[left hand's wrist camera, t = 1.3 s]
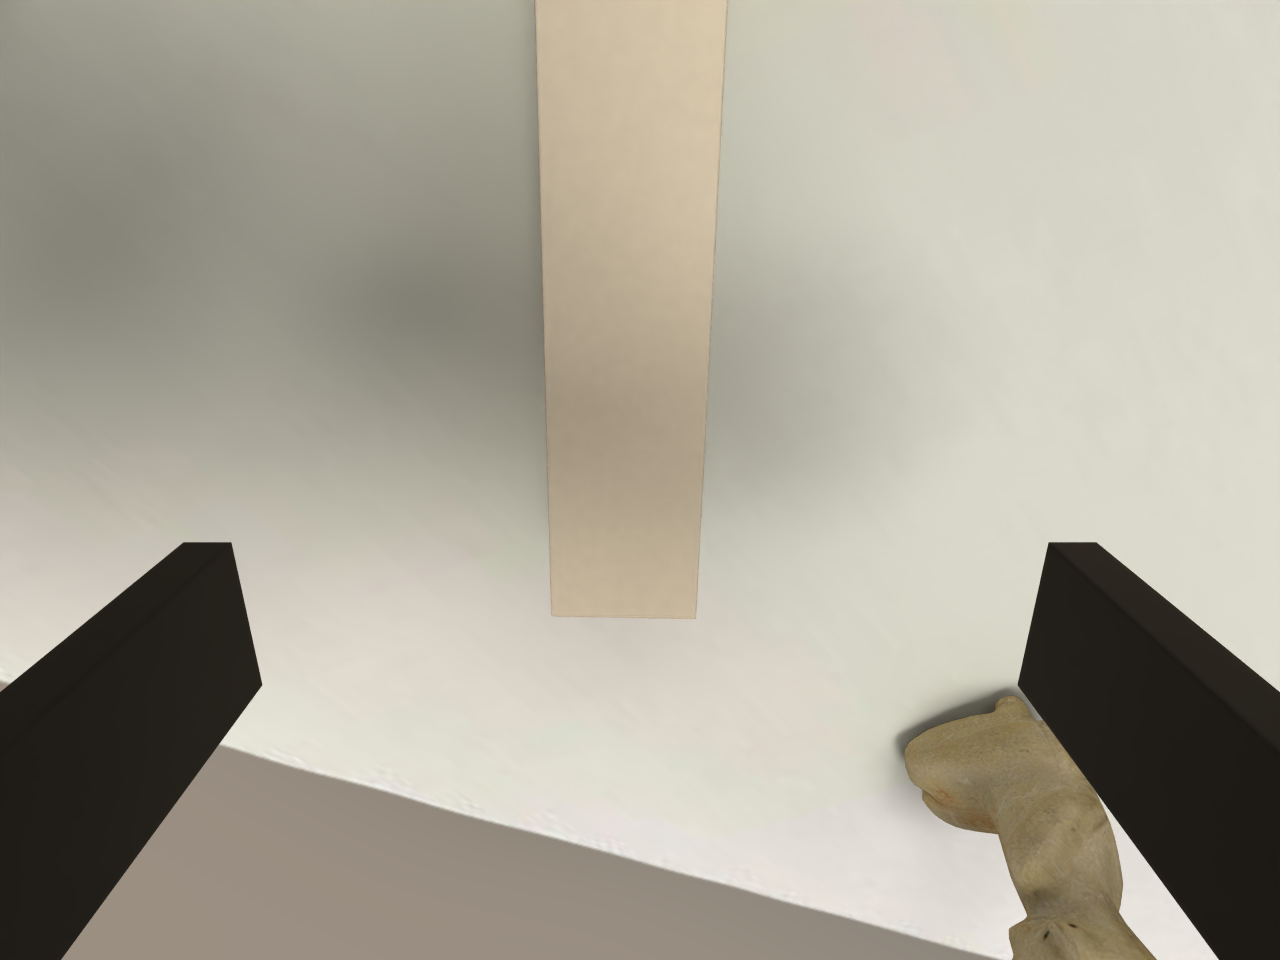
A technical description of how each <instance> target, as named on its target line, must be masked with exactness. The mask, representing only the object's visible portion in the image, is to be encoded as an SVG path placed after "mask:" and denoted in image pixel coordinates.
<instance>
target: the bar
mask: <svg viewBox="0 0 1280 960" xmlns="http://www.w3.org/2000/svg"><path fill="white" fill-rule="evenodd" d="M727 9H728V0H535V32H536V69H537V105H538V142H539V179H540V216H541V253H542V289H543V326H544V363H545V400H546V437H547V474H548V510H549V547H550V584H551V615H552V616H565V617H621V618H676V619H695V618H696V608H697V589H698V570H699V550H700V531H701V512H702V492H703V473H704V453H705V434H706V415H707V395H708V376H709V357H710V337H711V318H712V299H713V279H714V260H715V241H716V221H717V202H718V183H719V163H720V144H721V125H722V105H723V86H724V67H725V47H726V28H727Z"/></svg>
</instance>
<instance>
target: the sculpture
mask: <svg viewBox="0 0 1280 960" xmlns="http://www.w3.org/2000/svg"><path fill="white" fill-rule="evenodd" d="M994 707H995V711H994V712H992V713H987V714H980V715H974V716H970V717H966V718H962V719H958V720H954V721H950V722H947V723H944V724H941V725H938V726H936V727H933V728H931V729H929V730H927V731H925V732H924V733H922V734H920V735H919V736H917V737H916V738H914V739H913V740H912V741H910V742H909V744H908V745H907V746H906V748H905V765H906V769H907V772H908V775H909V777H910V779H911V781H912V782H913V783H914V784H915V785H916V786H918V787H920V788H922V798H923V801H924V802H925V804H926V805H927V807H928V808H929V809H930V810H931V811H932V812H933V813H934V814H935V815H936V816H937V817H938V818H940V819H942V820H943V821H945V822H946V823H949V824H951V825H953V826H955V827H959V828H962V829H966V830H972V831H977V832H985V833H993V834H998V835H999V839H1000V842H1001V845H1002V849H1003V852H1004V856H1005V859H1006V862H1007V866H1008V869H1009V873H1010V876H1011V879H1012V881H1013V883H1014V886H1015V888H1016V890H1017V893H1018V895H1019V897H1020V899H1021V902H1022V904H1023V906H1024V908H1025V911H1026V913H1027V917H1026V918H1025V919H1024V920H1023V921H1021V922H1019V923H1018V924H1016V925H1014V926H1012V927H1011V928H1009V939H1010V943H1011V947H1012V950H1013V954H1014V955H1013V959H1012V960H1157V959H1156V958H1155V957H1154V956H1153V955H1152V954H1151V952H1150V951H1149V950H1148V949H1147V948H1146V947H1145V945H1144V944H1143V943H1142V942H1141V941H1140V940H1139V939H1138V937H1137V936H1136V935H1135V934H1134V933H1133V931H1132V930H1131V929H1130V928H1129V927H1128V925H1127V924H1126V923H1125V921H1124V920H1123V918H1122V916H1121V915H1120V913H1119V909H1120V905H1121V898H1122V889H1123V880H1122V872H1121V866H1120V860H1119V855H1118V850H1117V846H1116V841H1115V837H1114V834H1113V831H1112V828H1111V824H1110V822H1109V819H1108V817H1107V815H1106V812H1105V810H1104V808H1103V806H1102V804H1101V802H1100V800H1099V797H1098V795H1097V793H1096V791H1095V790H1094V788H1093V787H1092V786H1091V784H1090V783H1089V782H1088V780H1087V779H1086V778H1085V776H1084V775H1083V773H1082V772H1081V771H1080V769H1079V768H1078V767H1077V765H1076V764H1075V763H1074V761H1073V760H1072V758H1071V757H1070V756H1069V754H1068V753H1067V752H1066V750H1065V749H1064V748H1063V746H1062V745H1061V743H1060V742H1059V741H1058V739H1057V738H1056V737H1055V735H1054V734H1053V733H1052V731H1051V730H1050V728H1049V727H1048V726H1047V724H1046V723H1045V722H1044V720H1041V721H1035V720H1034V718H1033V717H1032V715H1031V714H1030V712H1029V710H1028V709H1027V707H1026V706H1025V704H1024V703H1023V702H1022V701H1021V700H1020V699H1019V698H1018V697H1015V696H1006V697H1004V698H1002V699H1000V700H998V701H997V702H996V703H995V706H994Z"/></svg>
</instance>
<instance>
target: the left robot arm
mask: <svg viewBox="0 0 1280 960" xmlns="http://www.w3.org/2000/svg"><path fill="white" fill-rule="evenodd" d="M261 686H262V681H261V677H260V672H259V667H258V663H257V658H256V654H255V649H254V644H253V640H252V635H251V631H250V626H249V621H248V617H247V612H246V608H245V603H244V598H243V594H242V589H241V585H240V580H239V575H238V571H237V566H236V562H235V557H234V552H233V548H232V543H231V542H184V543H182V544H181V545H180V546H179V547H177V548H176V549H175V550H174V551H173V552H171V553H170V554H169V555H168V556H166V557H165V558H164V559H163V560H162V561H160V562H159V563H158V564H157V565H155V566H154V567H153V568H152V569H150V570H149V571H148V572H147V573H146V574H144V575H143V576H142V577H141V578H139V579H138V580H137V581H136V582H135V583H133V584H132V585H131V586H130V587H128V588H127V589H126V590H125V591H124V592H122V593H121V594H120V595H119V596H117V597H116V598H115V599H114V600H113V601H111V602H110V603H109V604H108V605H106V606H105V607H104V608H103V609H101V610H100V611H99V612H98V613H97V614H95V615H94V616H93V617H92V618H90V619H89V620H88V621H87V622H86V623H84V624H83V625H82V626H81V627H79V628H78V629H77V630H76V631H75V632H73V633H72V634H71V635H70V636H68V637H67V638H66V639H65V640H64V641H62V642H61V643H60V644H59V645H57V646H56V647H55V648H54V649H52V650H51V651H50V652H49V653H48V654H46V655H45V656H44V657H43V658H41V659H40V660H39V661H38V662H37V663H35V664H34V665H33V666H32V667H30V668H29V669H28V670H27V671H26V672H24V673H23V674H22V675H21V676H19V677H18V678H17V679H16V680H15V681H13V682H12V683H11V684H10V685H8V686H7V687H6V688H5V689H4V690H2V691H1V692H0V960H61V959H62V958H63V956H64V955H65V953H66V952H67V951H68V949H69V948H70V947H71V945H72V944H73V942H74V941H75V940H76V939H77V937H78V936H79V934H80V933H81V932H82V930H83V929H84V928H85V926H86V925H87V924H88V922H89V921H90V919H91V918H92V917H93V915H94V914H95V913H96V911H97V910H98V909H99V907H100V906H101V904H102V903H103V902H104V900H105V899H106V898H107V896H108V895H109V894H110V892H111V891H112V889H113V888H114V887H115V885H116V884H117V883H118V881H119V880H120V879H121V877H122V876H123V874H124V873H125V872H126V870H127V869H128V868H129V866H130V865H131V864H132V862H133V861H134V859H135V858H136V857H137V855H138V854H139V853H140V851H141V850H142V848H143V847H144V846H145V844H146V843H147V842H148V840H149V839H150V838H151V836H152V835H153V833H154V832H155V831H156V829H157V828H158V827H159V825H160V824H161V823H162V821H163V820H164V818H165V817H166V816H167V814H168V813H169V812H170V810H171V809H172V808H173V806H174V805H175V803H176V802H177V801H178V799H179V798H180V797H181V795H182V794H183V793H184V791H185V790H186V788H187V787H188V786H189V784H190V783H191V782H192V780H193V779H194V778H195V776H196V775H197V773H198V772H199V771H200V769H201V768H202V767H203V765H204V764H205V763H206V761H207V760H208V758H209V757H210V756H211V754H212V753H213V752H214V750H215V749H216V748H217V746H218V745H219V743H220V742H221V741H222V739H223V738H224V737H225V735H226V734H227V733H228V731H229V730H230V728H231V727H232V726H233V724H234V723H235V722H236V720H237V719H238V718H239V716H240V715H241V713H242V712H243V711H244V709H245V708H246V707H247V705H248V704H249V703H250V701H251V700H252V698H253V697H254V696H255V694H256V693H257V692H258V690H259V689H260V688H261ZM1018 686H1019V688H1020V689H1021V690H1022V692H1023V693H1024V694H1025V696H1026V697H1027V698H1028V700H1029V701H1030V703H1031V704H1032V705H1033V707H1034V708H1035V709H1036V711H1037V712H1038V713H1039V715H1040V716H1041V718H1042V719H1043V720H1044V722H1045V723H1046V724H1047V726H1048V727H1049V728H1050V730H1051V731H1052V733H1053V734H1054V735H1055V737H1056V738H1057V739H1058V741H1059V742H1060V743H1061V745H1062V746H1063V748H1064V749H1065V750H1066V752H1067V753H1068V754H1069V756H1070V757H1071V758H1072V760H1073V761H1074V763H1075V764H1076V765H1077V767H1078V768H1079V769H1080V771H1081V772H1082V773H1083V775H1084V776H1085V778H1086V779H1087V780H1088V782H1089V783H1090V784H1091V786H1092V787H1093V788H1094V790H1095V791H1096V793H1097V794H1098V795H1099V797H1100V798H1101V799H1102V801H1103V802H1104V803H1105V805H1106V806H1107V808H1108V809H1109V810H1110V812H1111V813H1112V814H1113V816H1114V817H1115V818H1116V820H1117V821H1118V823H1119V824H1120V825H1121V827H1122V828H1123V829H1124V831H1125V832H1126V834H1127V835H1128V836H1129V838H1130V839H1131V840H1132V842H1133V843H1134V844H1135V846H1136V847H1137V849H1138V850H1139V851H1140V853H1141V854H1142V855H1143V857H1144V858H1145V859H1146V861H1147V862H1148V864H1149V865H1150V866H1151V868H1152V869H1153V870H1154V872H1155V873H1156V874H1157V876H1158V877H1159V879H1160V880H1161V881H1162V883H1163V884H1164V885H1165V887H1166V888H1167V889H1168V891H1169V892H1170V894H1171V895H1172V896H1173V898H1174V899H1175V900H1176V902H1177V903H1178V904H1179V906H1180V907H1181V909H1182V910H1183V911H1184V913H1185V914H1186V915H1187V917H1188V918H1189V919H1190V921H1191V922H1192V924H1193V925H1194V926H1195V928H1196V929H1197V930H1198V932H1199V933H1200V934H1201V936H1202V937H1203V939H1204V940H1205V941H1206V943H1207V944H1208V945H1209V947H1210V948H1211V949H1212V951H1213V952H1214V954H1215V955H1216V956H1217V958H1218V959H1219V960H1280V692H1279V691H1278V690H1277V689H1275V688H1274V687H1273V686H1272V685H1270V684H1269V683H1268V682H1267V681H1265V680H1264V679H1263V678H1262V677H1261V676H1259V675H1258V674H1257V673H1256V672H1254V671H1253V670H1252V669H1251V668H1250V667H1248V666H1247V665H1246V664H1245V663H1243V662H1242V661H1241V660H1240V659H1239V658H1237V657H1236V656H1235V655H1234V654H1232V653H1231V652H1230V651H1229V650H1228V649H1226V648H1225V647H1224V646H1223V645H1221V644H1220V643H1219V642H1218V641H1216V640H1215V639H1214V638H1213V637H1212V636H1210V635H1209V634H1208V633H1207V632H1205V631H1204V630H1203V629H1202V628H1201V627H1199V626H1198V625H1197V624H1196V623H1194V622H1193V621H1192V620H1191V619H1190V618H1188V617H1187V616H1186V615H1185V614H1183V613H1182V612H1181V611H1180V610H1179V609H1177V608H1176V607H1175V606H1174V605H1172V604H1171V603H1170V602H1169V601H1167V600H1166V599H1165V598H1164V597H1163V596H1161V595H1160V594H1159V593H1158V592H1156V591H1155V590H1154V589H1153V588H1152V587H1150V586H1149V585H1148V584H1147V583H1145V582H1144V581H1143V580H1142V579H1141V578H1139V577H1138V576H1137V575H1136V574H1134V573H1133V572H1132V571H1131V570H1130V569H1128V568H1127V567H1126V566H1125V565H1123V564H1122V563H1121V562H1120V561H1118V560H1117V559H1116V558H1115V557H1114V556H1112V555H1111V554H1110V553H1109V552H1107V551H1106V550H1105V549H1104V548H1103V547H1101V546H1100V545H1099V544H1098V543H1096V542H1049V543H1048V548H1047V552H1046V557H1045V562H1044V566H1043V571H1042V575H1041V580H1040V585H1039V589H1038V594H1037V598H1036V603H1035V608H1034V612H1033V617H1032V621H1031V626H1030V631H1029V635H1028V640H1027V644H1026V649H1025V654H1024V658H1023V663H1022V667H1021V672H1020V677H1019V681H1018Z"/></svg>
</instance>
